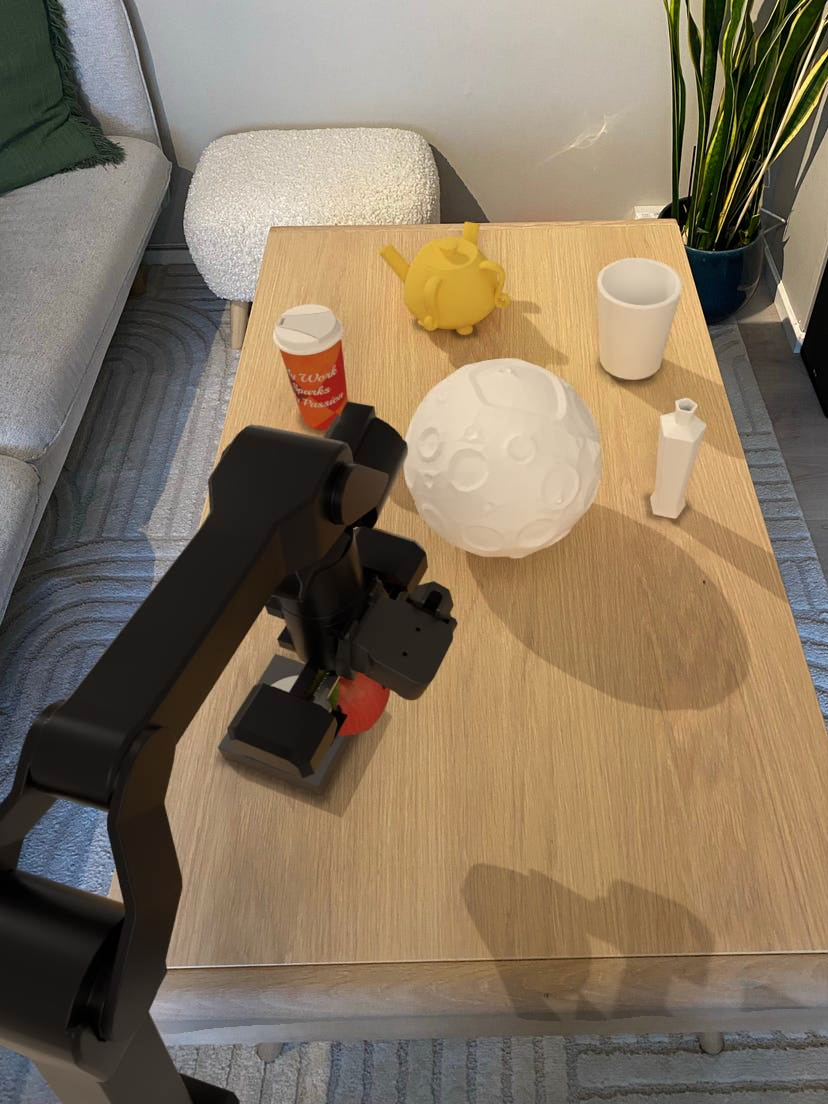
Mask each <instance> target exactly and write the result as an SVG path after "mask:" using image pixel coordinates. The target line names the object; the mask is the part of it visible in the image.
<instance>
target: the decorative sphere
mask: <svg viewBox="0 0 828 1104" xmlns="http://www.w3.org/2000/svg"><path fill="white" fill-rule="evenodd" d="M407 428H408V429H407V431H406V433H405V438H404V441H406V443H407V446H408V455H407V457H406V459H405V462H404V464H403V474H404V479H405V483H406V486H407V489H408V491H409V494H410V495H411V497H412V499H413V501H414V504H415V508H416V510H417V512H418V514H419V516H420V517H421V519H422V520H423V521H424V522H425V524H426V525H427V526H428V527H429V528H430V529H431V530H432V531H433V532H434V533H435V534H436V535H438V536H439V537H440V538H442V539H443V540H445V541H446V542H447V543H449V544H451V545H452V546H454V547H457V548H458V549H461V550H463V551H466V552H468V553H471V554H473V555H476V556H478V557H484V558H504V557H507V558H510V559H511V560H512V559H521V558H525V557H527V556H529V555H531V554H534V553H536V552H538V551H540V550H544V549H546V548H549V547H551V546H552V545H554V544H556V543H557V542H559V541H561V540H562V539H564V537H566V536H567V535H568V534H569V533H571V531H572V529H573V527H575V525H576V524H577V523H578V521H579V520H580V519H581V518H582V517H583V516H584V515H585V513H586V512H588V510H589V509H590V507H591V506H592V505H593V502H594V500H595V499H596V496H597V493H598V490H599V487H600V483H601V479H602V474H603V455H602V447H601V446H602V445H601V432H600V430H599V426H598V425H597V422H596V419H595V417H594V415H593V413H592V411H591V410H590V408H589V407H588V405H587V403H586V402H584V400H583V399H582V397H580V396H579V395H578V393H577V392H576V390H575V389H574V387H573V386H572V385H571V384H570V383H568V382H567V381H566V380H565V379H563V378H561V377H560V376H558V375H556V374H554V373H553V372H552V371H550V370H548V369H546V368H544V367H542V366H540V365H537V364H534V363H532V362H528V361H526V360H523V359H521V358H514V357H506V358H495V359H488V360H482V361H479V362H475V363H468V364H465V365H463V366H461V367H459V368H458V369H456V370H455V371H453V372H452V373H451V374H449V375H448V376H447V377H445V378H444V379H442V380H441V381H440V382H438V383H437V384H435V385H434V386H433V387H432V388H431V389H430V390H429V391H428V392H427V394H426V395H425V396H424V398H423V399H422V400H421V402H420V403H419V405H418V406H417V407H416V410H415V411H414V414H413V415H412V417H411V420H410V423H409V425H408V427H407Z"/></svg>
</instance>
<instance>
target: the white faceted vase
mask: <svg viewBox="0 0 828 1104" xmlns="http://www.w3.org/2000/svg"><path fill="white" fill-rule="evenodd" d="M674 403H675V408H674V411H673V412H669V413H665V414H662V415H660V417H659V426H658V427H659V430H658V444H657V457H656V474H655V483H654V485H655V486H654V491H653V492H652V494H651V495H650V497H649V500H650V505H651V511H652V513H653V515H655V516H660V517H664V518H670V519H677V518H678V517H679V515H680V514H681V513H682V511H683V510H684V509H685V507H686V505H687V504H686V499H685V494H686V491H687V488H688V485H689V482H690V478H691V476H692V472H693V469H694V466H695V463H696V460H697V458H698V457H697V456H698V453H699V451H700V447H701V444H702V441H703V438H704V435H705V432H706V428H707V425H708V424H707V423H706V422H704V421H703V420H702V419H700V418H699V417H698V416H697V415H695V413H696V409H697V408H698V407H699V406H698V404H697V403H696V402H695V401H693V399H691V398H690V397H683V398H680V399H677V400H675V402H674Z"/></svg>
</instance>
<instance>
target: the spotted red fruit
mask: <svg viewBox="0 0 828 1104" xmlns="http://www.w3.org/2000/svg"><path fill="white" fill-rule="evenodd" d="M327 674H328V673H327ZM324 679H326V678H325V677H324ZM321 684H323V683H322V682H321ZM318 688H319V687H318ZM315 693H317V692H315ZM390 695H391V690H390V689H388V688H386V687H384V686H383V685H381V684H379V683H377V682H375V681H373V680H372V679H370V678H368V677H367V676H365V675H364V674H362V673H358V675H357V676H356V678H355V680H354V681H351V680H348V679H346V678H343V677H340V678H339V680H338V682H337V684H336V685H335V687H334V689H333V691H332V692H331V694H330V696H329V698H328V701H329V702H330V704H331V707H332V709H334V710H336V711H339V712H341V713H344V714H347V715H348V716H347V718H346V720H345V722H344V724H343V725H342V727H341V729H340V731H339V733H338V735H353V734H354V735H357V734H361V733H365V732H367V731H369V730H371V728H373V726H374V725H375V724H376V723H377V722H378V721H379V719H380V718H381V717H382V715H383V713H384V711H385V709H386V707H387V705H388V702H389V699H390ZM354 735H353V736H354Z"/></svg>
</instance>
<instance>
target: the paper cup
mask: <svg viewBox="0 0 828 1104" xmlns="http://www.w3.org/2000/svg"><path fill="white" fill-rule="evenodd" d="M344 333H345V327H344V326H343V324H342V322H341V320H340V319H339V318H338V317H337V316H336V314H335V313H334V312H333V311H332V310H331V309H330V308H328V307H326V306H325V305H322V304H321V305H320V304H314V303H313V304H311V303H307V304H300V305H297V306H294V307H291V308H289V309H287V310H286V311H284V312H283V313H282V314H281V315H280V317H279V318H278V320H277V322H276V326H275V327H274V330H273V334H272V338H273V339H272V341H273V342H274V344H275V346H276V347H277V348H278V349H279V352H280V355H281V358H282V361H283V364H284V367H285V370H286V373H287V376H288V379H289V383H290V386H291V389H292V391H293V394H294V397H295V401H296V403H297V407H298V409H299V413H300V415H301V419H302V420H303V422H304V424H305V425H306V426H307V427H309V428H310V429H313V430H317V431H327V430H328V428H329V426H330V424H331V423H332V421H333V420H334V419H335V418H336V417H338V416H339V415H340V414H341V412H342V410H343V408H344V406H345V404H346V402H347V401H348V402H349V400H348V389H347V381H346V371H345V362H344V351H343V345H342V344H343V343H342V338H343V335H344Z"/></svg>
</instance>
